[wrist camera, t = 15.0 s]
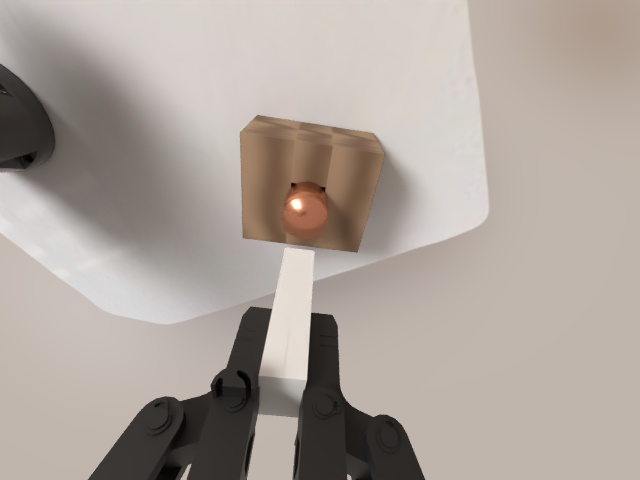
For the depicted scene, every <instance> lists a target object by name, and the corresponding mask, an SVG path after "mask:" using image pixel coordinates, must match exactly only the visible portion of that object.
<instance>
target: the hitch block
mask: <svg viewBox="0 0 640 480" xmlns="http://www.w3.org/2000/svg"><path fill="white" fill-rule="evenodd" d="M240 152H241V188H242V224H243V238H246V239H254V240H262V241H270V242H278V243H286V244H294V245H302V246H310V247H318V248H326V249H334V250H341V251H349V252H358V249H359V245H360V242H361V238H362V235H363V231H364V228H365V224H366V221H367V217H368V213H369V210H370V206H371V203H372V199H373V196H374V192H375V189H376V185H377V182H378V178H379V175H380V171H381V168H382V164H383V161H384V157H385V153H384V151H383V149H382V148H381V146H380V144H379V142H378V140H377V138H376V137H375V135H374V133H368V132H361V131H355V130H349V129H342V128H336V127H329V126H323V125H317V124H310V123H304V122H298V121H291V120H285V119H278V118H272V117H266V116H259V115H257V116H256V117H255V118H254V119H253V120H252V121H251V122H250V123H249V124H248V125H247V126H246V127H245V128H244V129H243V130H242V131H241V132H240ZM306 181H307V182H313V183H315V184H317V185H319V186H320V187H322V189H323V190H324V191H325V193H326V195H327V200H328V222H327V226H326V228H325V230H324V231H323V232H322V233H321V234H320V235H318V236H317V237H314V238H311V239H299V238H296V237H293V236H292V235H290V234H289V233H288V232H286V230H285V229H284V228H283V226H282V223H281V213H282V209H283V205H284V202H285V198H286V195H287V192H288V190H289V189H290V188H291V187H292V186H293V185H295V183H299V182H306Z"/></svg>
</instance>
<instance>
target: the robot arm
mask: <svg viewBox="0 0 640 480" xmlns="http://www.w3.org/2000/svg"><path fill="white" fill-rule="evenodd" d="M53 149H54V133H53V129H52V126H51V123H50V121H49V118H48V116H47V114H46V112H45V111H44V109H43V107H42V106H41V104H40V103H39V101H38V100H37V99H36V97H35V96H34V95H33V94H32V92H31V91H30V90H29V89H28V88H27V87H26V86H25V85H24V84H23V83H22V82H21V81H20V80H19V79H18V78H17V77H16V76H15V75H13V74H12V73H11V72H10V71H9V70H7V69H6V68H5V67H3V66H2V65H0V173H2V172H17V171H23V170H27V169H30V168H32V167H35V166H37V165H40V164H42V163H44V162H45V161H47V160H48V159H49V157H50V156H51V154H52V152H53ZM314 253H315V251H312V250H304V249H296V248H288V247H285V251H284V255H283V260H282V265H281V270H280V275H279V280H278V284H277V289H276V294H275V299H274V304H273V309H267V308H258V307H250V308H249V309H248V310H247V311H246V313H245V314H244V315H243V316H242V319H241V323H240V326H239V330H238V332H237V336H236V339H235V342H234V345H233V348H232V351H231V355H230V358H229V361H228V364H227V367H226V369H224V370H222V371H221V372H220V373H219V374H218V375H216V376H215V378H214V379H213V381H212V383H211V390H212V391H210V392H208V393H207V394H204V395H202V396H199V397H195V398H191V399H187V400H183V401H178V400H177V399H176V398H174V397H162V398H157V399H155V400H153V401H151V402H150V403H148V404H147V405H146V406H145V407H144V408H143V409H142V410H141V411H140V412H139V413H138V414H137V415H136V417H135V418H134V419H133V421H132V422H131V423H130V425H129V426H128V427H127V429H126V430H125V431H124V433H123V434H122V435H121V436H120V438H119V439H118V440H117V442H116V443H115V444H114V446H113V447H112V448H111V450H110V451H109V452H108V454H107V455H106V456H105V458H104V459H103V460H102V462H101V463H100V464H99V466H98V467H97V468H96V470H95V471H94V472H93V474H92V475H91V476H90V478H89V479H88V480H180V479H181V477H182V475H183V474H184V472H185V470H186V468H187V466H188V465H189V464H192V465H191V468H190V471H189V474H188V477H187V480H247V475H248V470H249V464H250V458H251V453H252V448H253V442H254V437H255V426H256V421H257V415H258V414H263V415H276V416H287V417H299V418H298V431H297V435H296V440H295V457H294V470H293V480H347V474H348V475H350V476H351V478H352V480H425V478H424V476H423V473H422V471H421V468H420V466H419V463H418V461H417V458H416V456H415V453H414V451H413V448H412V446H411V443H410V441H409V438H408V436H407V433H406V432H405V430H404V428H403V427H402V425H401V424H400V423H399V422H398V421H397V420H396V419H394V418H393V417H390V416H388V415H378V416H375V417H372V416H370V415H368V414H365V413H363V412H361V411H359V410H357V409H356V408H354V407H352V406H351V405H350V404H349V403H348V402H347V401H346V399H345V398H344V397H343V394H342V392H341V389H340V378H339V351H338V327H337V324H336V321H335V319H334V317H333V315H328V314H319V313H311V303H312V285H313V269H314Z"/></svg>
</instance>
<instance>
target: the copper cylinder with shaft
mask: <svg viewBox="0 0 640 480" xmlns="http://www.w3.org/2000/svg"><path fill="white" fill-rule="evenodd" d="M327 222H328V200H327V195H326V193H325V191H324V190H323V189H322V188H321V187H320V186H319V185H317V184H315V183H313V182H307V181H306V182H299V183H297V184H295V185H293V186H292V187H291V188H290V189H289V190H288V192H287V195H286V198H285V202H284V205H283V209H282V213H281V223H282V226H283V228H284V229H285V230H286V232H288V233H289V234H290V235H292V236H293V237H296V238H299V239H311V238H314V237H317V236H318V235H320V234H321V233H322V232H323V231H324V230H325V228H326V226H327Z"/></svg>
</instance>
